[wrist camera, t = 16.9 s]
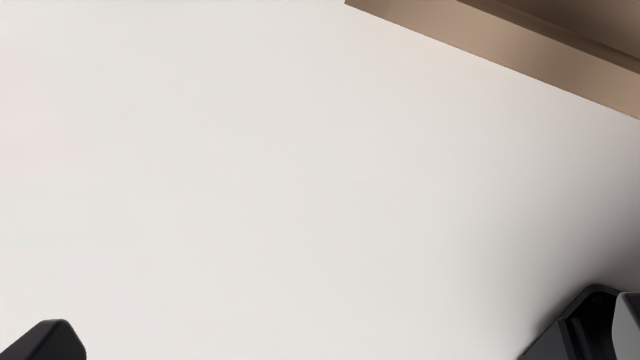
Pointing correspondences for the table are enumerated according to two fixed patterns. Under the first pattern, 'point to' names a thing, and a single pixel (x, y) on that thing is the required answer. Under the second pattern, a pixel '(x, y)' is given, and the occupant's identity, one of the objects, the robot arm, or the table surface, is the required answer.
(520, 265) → the table surface
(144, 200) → the table surface
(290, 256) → the table surface
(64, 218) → the table surface
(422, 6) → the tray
